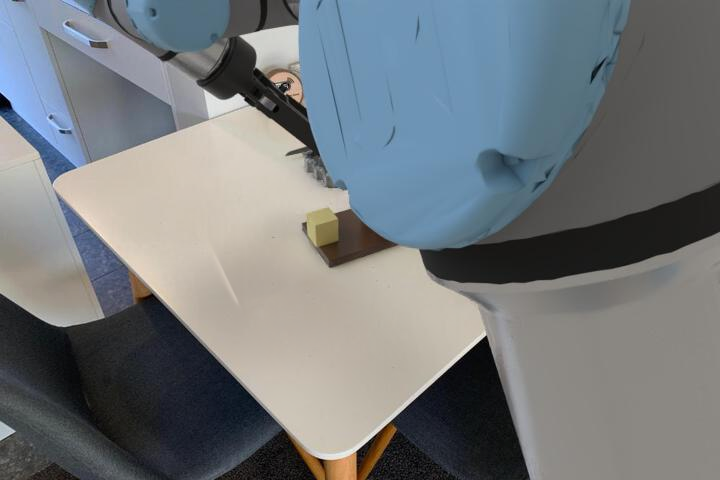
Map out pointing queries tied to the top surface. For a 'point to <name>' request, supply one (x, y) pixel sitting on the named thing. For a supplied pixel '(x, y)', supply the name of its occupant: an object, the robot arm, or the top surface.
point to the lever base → (350, 240)
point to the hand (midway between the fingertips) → (331, 143)
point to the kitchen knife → (298, 151)
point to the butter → (322, 227)
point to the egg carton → (317, 168)
